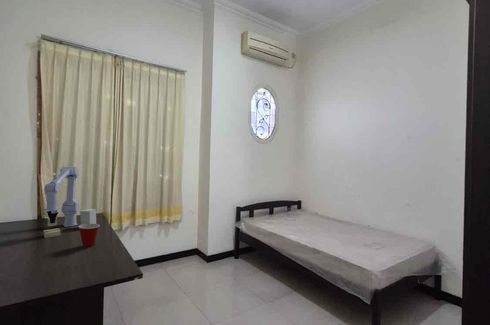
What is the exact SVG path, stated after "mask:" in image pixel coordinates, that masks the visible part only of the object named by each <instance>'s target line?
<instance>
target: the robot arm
mask: <svg viewBox="0 0 490 325" xmlns="http://www.w3.org/2000/svg"><path fill="white" fill-rule="evenodd" d="M77 178H79V168H78V167H77V166H61V168H60V172H59V174H58V176H54V178H53V179H52V180H51V181H50V182H49V183H47V184H45V185H44V190H43V191H44V192H45V195H46V208H44V211H45V212H46V214H47V217H48V218H50V223H55V220H56V218H57V216H58V214H59V212H58V210H59V207H58V201H59V200H58V195H59V194H58V192H59V191H60V188H61V185H62V184H63V183H64V179H67V192H66V200H65V201H64V202H63V203H62V206H61V212H62V214H63V215H64V223H62V225H63V226H64V227H65V228H66V227H73V226H79V225H78V223H77V213H78V212H79V210H80V205H79V204H80V203H79V202H78V201H77V200H76V183H77Z"/></svg>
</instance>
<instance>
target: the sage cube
mask: <svg viewBox="0 0 490 325" xmlns="http://www.w3.org/2000/svg"><path fill="white" fill-rule="evenodd" d="M57 225H58V217H56V220H55V223H50V218H49V217H48V218H47V227H53V226H54V227H55V226H57Z"/></svg>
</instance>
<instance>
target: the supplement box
mask: <svg viewBox="0 0 490 325" xmlns="http://www.w3.org/2000/svg"><path fill="white" fill-rule="evenodd" d="M79 213H80V218H79V219H80V222H79V223H80V225H83V224H97V209H96V208H86V209H83V210H80V212H79Z"/></svg>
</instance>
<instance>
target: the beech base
mask: <svg viewBox="0 0 490 325" xmlns="http://www.w3.org/2000/svg"><path fill="white" fill-rule="evenodd" d="M60 236H61V229H60V228H59V227H58V228H51V229H44V230H43V237H44V238H45V239H47V238H53V237H54V238H55V237H60Z"/></svg>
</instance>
